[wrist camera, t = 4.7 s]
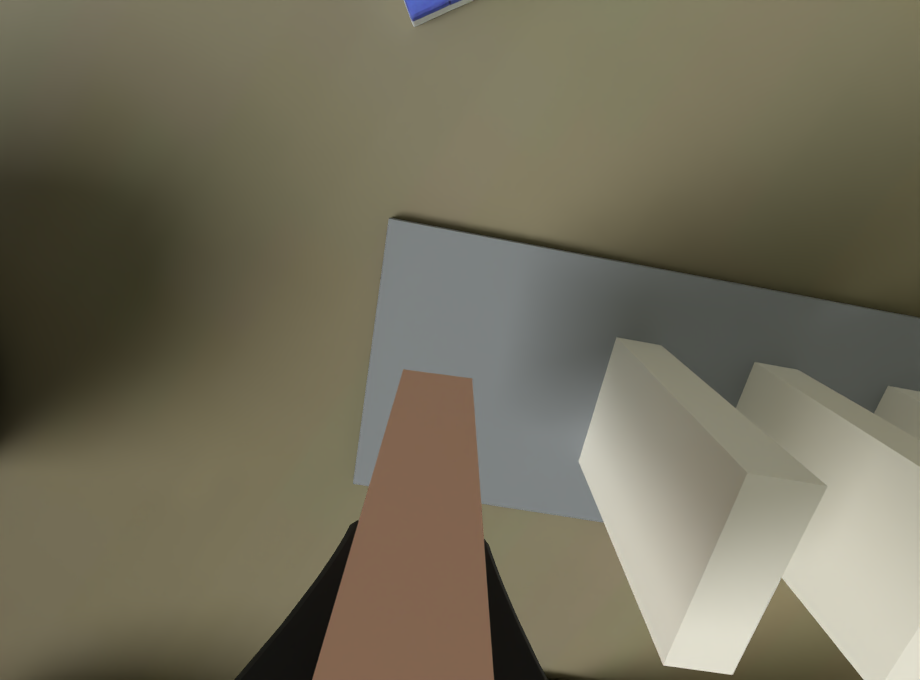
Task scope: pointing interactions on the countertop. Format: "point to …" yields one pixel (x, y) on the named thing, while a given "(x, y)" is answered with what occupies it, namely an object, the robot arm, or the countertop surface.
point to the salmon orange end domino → (417, 549)
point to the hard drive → (430, 9)
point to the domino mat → (590, 347)
